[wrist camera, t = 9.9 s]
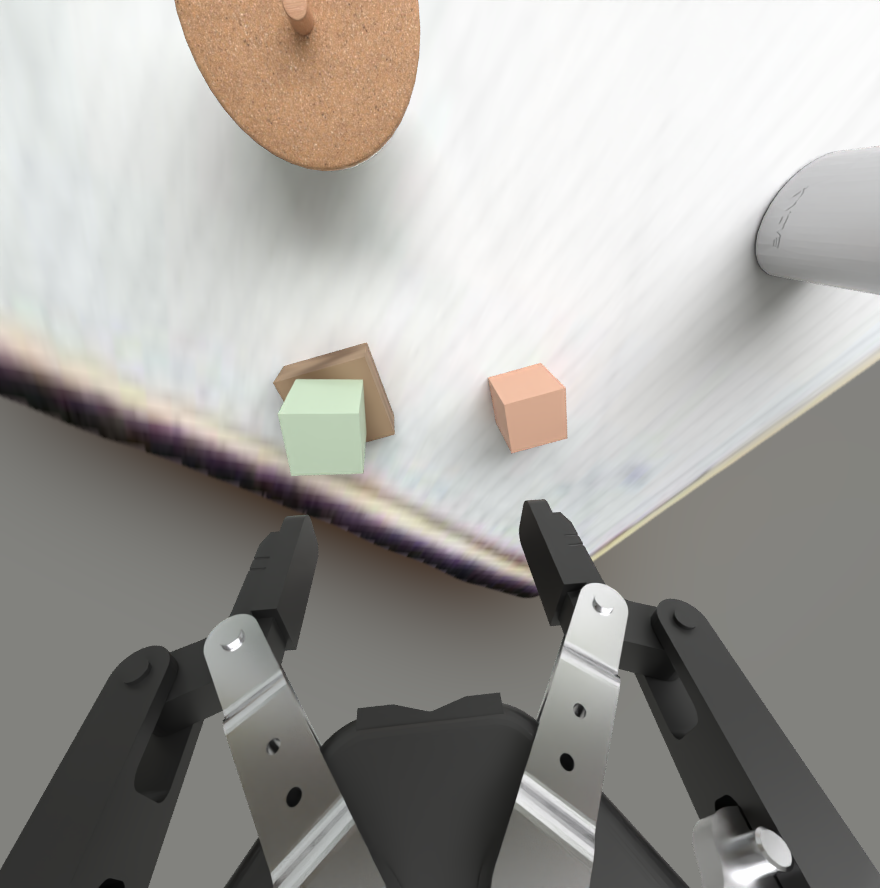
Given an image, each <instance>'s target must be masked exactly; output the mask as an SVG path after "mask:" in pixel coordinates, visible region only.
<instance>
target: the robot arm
mask: <svg viewBox="0 0 880 888" xmlns="http://www.w3.org/2000/svg"><path fill="white" fill-rule="evenodd" d="M756 256H757V260H758V263H759V265H760V267H761V268H762V270H764V271H765V272H766V273H768V274H770V275H773V276H776V277H782V278H788V279H793V280H799V281H805V282H810V283H815V284H820V285H826V286H832V287H837V288H843V289H849V290H855V291H860V292H866V293H872V294H877V295H880V146H874V147H866V148H858V149H850V150H842V151H837V152H832V153H828V154H826V155H824V156H822V157H819V158H817V159H815V160H814V161H812V162H811V163H809V164H808V165H806V166H805V167H803V168H802V169H801V170H800V171H799V172H798V173H797V174H795V175H794V176H793V177H792V178H791V179H790V180H789V181H788V182H787V183H786V185H785V186H784V187H783V188H782V189H781V190H780V192H779V193H778V194H777V196H776V197H775V199H774V200H773V202H772V203H771V204H770V206H769V208H768V210H767V212H766V214H765V216H764V218H763V220H762V223H761V226H760V228H759V231H758V236H757V241H756ZM519 537H520V542H521V546H522V548H523V551H524V554H525V557H526V560H527V562H528V565H529V568H530V571H531V573H532V576H533V579H534V582H535V585H536V587H537V590H538V593H539V596H540V598H541V601H542V604H543V607H544V610H545V613H546V615H547V618H548V621H549V624H550V626H556V625H561V627H562V630H563V633H564V637H563V639H562V642H561V645H560V649H559V652H558V655H557V658H556V661H555V664H554V667H553V670H552V673H551V677H550V679H549V683H548V686H547V689H546V692H545V694H544V697H543V700H542V703H541V706H540V709H539V712H538V715H537V718H536V720H535V719H534V718H533V717H531V716H530V715H528V714H527V713H525V712H524V711H522V710H520V709H518V708H516V707H513V706H511V705H508V704H504V703H502V702H501V697H500V693H493V694H483V695H474V696H466V697H463V698H461V699H459V700H457V701H454V702H452V703H450V704H447V705H445V706H443V707H441V708H438V709H436V710H434V711H430V712H429V711H423V710H418V709H413V708H408V707H403V706H398V705H384V706H375V707H366V708H358V710H357V720H355V721H352V722H350V723H349V724H347V725H345V726H344V727H342V728H341V729H339V730H338V731H337V732H335V733H334V734H333V735H332V736H331V737H330V738H329V739H328V740H327V741H326V742H325V743H324V744H323V745H321V743H320V741H319V739H318V737H317V735H316V733H315V731H314V729H313V727H312V726H311V724H310V722H309V720H308V718H307V716H306V714H305V712H304V710H303V708H302V706H301V704H300V702H299V700H298V698H297V696H296V694H295V692H294V690H293V688H292V686H291V684H290V682H289V680H288V678H287V676H286V674H285V672H284V670H283V668H282V666H281V663H282V659H283V655H284V651H285V650H296V647H297V644H298V639H299V635H300V631H301V627H302V623H303V618H304V614H305V610H306V606H307V602H308V597H309V593H310V588H311V585H312V580H313V576H314V572H315V567H316V563H317V559H318V543H317V539H316V536H315V533H314V530H313V526H312V523H311V520H310V517H309V515H300V516H287V517H286V518H285V519H284V521H283V524H282V527H281V529H280V532H271V533H270V534H269V535H268V536H267V537H266V538H265V539H264V540H263V541H262V543H261V544H260V545H259V548H258V550H257V552H256V555H255V557H254V560H253V562H252V564H251V567H250V571H249V572H248V574H247V576H246V579H245V581H244V583H243V586H242V588H241V591H240V593H239V595H238V598H237V600H236V603H235V605H234V607H233V610H232V612H231V614H230V616H229V618H228V619H225V620H224V621H222V622H221V623H220V624H218V625H217V626H216V627H215V628H214V629H213V630H212V631H211V633H210V634H209V636H208V637H207V638H205V639H203V640H201V641H198V642H196V643H193V644H190V645H188V646H185V647H183V648H180V649H178V650H175V651H172V652H169V651H168V650H167V649H166V648H164V647H162V646H149V647H146V648H143V649H141V650H139V651H137V652H135V653H133V654H132V655H130V656H129V657H127V658H126V659H125V660H124V661H122V662H121V663H120V664H119V665H118V667H116V669H115V670H114V671H113V672H112V674H111V675H110V677H109V678H108V680H107V682H106V684H105V686H104V687H103V689H102V691H101V693H100V694H99V696H98V698H97V700H96V702H95V703H94V705H93V707H92V709H91V710H90V712H89V714H88V716H87V717H86V719H85V721H84V723H83V725H82V726H81V728H80V730H79V732H78V733H77V735H76V737H75V739H74V740H73V742H72V744H71V746H70V747H69V749H68V751H67V753H66V755H65V756H64V758H63V760H62V762H61V763H60V765H59V767H58V769H57V770H56V772H55V774H54V776H53V778H52V779H51V781H50V783H49V785H48V786H47V788H46V790H45V792H44V793H43V795H42V797H41V799H40V801H39V802H38V804H37V806H36V808H35V809H34V811H33V813H32V815H31V816H30V819H29V820H28V822H27V824H26V825H25V827H24V829H23V831H22V832H21V834H20V836H19V838H18V840H17V841H16V843H15V845H14V847H13V848H12V850H11V852H10V854H9V855H8V857H7V859H6V861H5V862H4V864H3V866H2V868H1V870H0V888H148V886H149V883H150V880H151V877H152V874H153V871H154V868H155V865H156V862H157V859H158V856H159V853H160V850H161V847H162V844H163V841H164V838H165V835H166V832H167V829H168V826H169V823H170V820H171V817H172V814H173V811H174V808H175V805H176V802H177V799H178V796H179V793H180V790H181V787H182V784H183V781H184V778H185V775H186V772H187V769H188V766H189V763H190V760H191V757H192V754H193V751H194V748H195V745H196V742H197V739H198V736H199V733H200V730H201V727H202V724H203V721H204V719H205V718H208V717H210V716H212V715H214V714H216V713H218V712H221V711H223V712H224V716H225V719H224V720H223V728H224V732H225V735H226V738H227V741H228V744H229V748H230V751H231V754H232V757H233V760H234V763H235V766H236V769H237V772H238V775H239V778H240V781H241V784H242V787H243V790H244V793H245V797H246V800H247V803H248V805H249V809H250V812H251V815H252V818H253V821H254V824H255V827H256V830H257V833H258V836H259V837H258V839H257V840H256V842H255V843H254V845H253V846H252V848H251V849H250V850H249V852H248V854H247V855H246V856H245V858H244V859H243V861H242V862H241V864H240V865H239V866H238V868H237V869H236V871H235V872H234V874H233V875H232V877H231V878H230V880H229V881H228V883H227V884H226V886H225V887H224V888H689V886H688V885H687V884H686V883H685V882H684V881H683V880H682V878H681V877H680V876H679V875H678V874H677V873H676V872H675V871H674V870H673V869H672V868H671V867H670V865H669V864H668V863H667V862H666V861H665V860H664V859H663V858H662V857H661V856H660V854H659V853H658V852H657V851H656V850H655V849H654V848H653V847H652V846H651V845H650V843H649V842H648V841H647V840H646V839H645V838H644V837H643V836H642V835H641V834H640V832H639V831H637V829H636V828H635V827H634V826H633V825H632V824H631V823H630V821H629V820H628V819H627V818H626V817H625V816H624V815H623V814H622V813H621V812H620V811H619V810H618V808H617V807H616V806H615V805H614V804H613V803H612V802H611V801H610V800H609V799H608V798H607V797H606V795H605V794H604V793H603V792H602V787H603V781H604V775H605V770H606V764H607V758H608V752H609V746H610V741H611V735H612V728H613V723H614V717H615V712H616V706H617V700H618V694H619V688H620V677H619V676H618V669H622V670H626V671H630V672H633V673H635V675H636V677H637V680H638V682H639V684H640V686H641V689H642V691H643V693H644V695H645V698H646V700H647V702H648V704H649V707H650V709H651V711H652V713H653V716H654V718H655V720H656V722H657V724H658V727H659V729H660V731H661V733H662V736H663V738H664V740H665V742H666V745H667V747H668V749H669V751H670V754H671V756H672V758H673V760H674V762H675V765H676V767H677V769H678V771H679V773H680V776H681V778H682V780H683V783H684V785H685V787H686V789H687V792H688V793H689V796H690V798H691V800H692V803H693V805H694V807H695V810H696V812H697V814H698V816H699V818H700V820H699V821H698V822H697V823H696V825H695V827H694V830H693V837H692V842H693V849H694V854H695V857H696V860H697V863H698V866H699V870H700V874H701V881H702V888H880V874H879V872H878V871H877V869H876V868H875V867H874V865H873V864H872V862H871V861H870V859H869V858H868V856H867V855H866V853H865V852H864V850H863V849H862V847H861V846H860V844H859V843H858V841H857V840H856V838H855V837H854V836H853V834H852V833H851V831H850V830H849V828H848V827H847V825H846V824H845V822H844V821H843V819H842V818H841V816H840V815H839V814H838V812H837V811H836V809H835V808H834V806H833V805H832V803H831V802H830V800H829V799H828V797H827V796H826V795H825V793H824V791H823V790H822V789H821V787H820V786H819V784H818V783H817V781H816V780H815V778H814V777H813V775H812V774H811V773H810V771H809V769H808V768H807V766H806V765H805V763H804V762H803V761H802V759H801V758H800V756H799V755H798V753H797V752H796V750H795V749H794V747H793V746H792V744H791V743H790V742H789V740H788V739H787V737H786V736H785V734H784V733H783V731H782V730H781V728H780V727H779V725H778V724H777V723H776V721H775V719H774V718H773V717H772V715H771V714H770V712H769V711H768V709H767V708H766V706H765V705H764V703H763V702H762V700H761V699H760V697H759V696H758V694H757V693H756V692H755V690H754V689H753V687H752V686H751V684H750V683H749V681H748V680H747V679H746V677H745V675H744V674H743V672H742V671H741V669H740V668H739V666H738V665H737V663H736V662H735V661H734V659H733V658H732V656H731V655H730V653H729V652H728V650H727V649H726V647H725V646H724V644H723V643H722V641H721V640H720V639H719V637H718V636H717V634H716V633H715V631H714V630H713V628H712V627H711V625H710V624H709V622H708V621H707V619H706V618H705V617H704V616H703V615H702V614H701V613H700V612H699V611H698V610H697V609H696V608H694V607H693V606H691V605H689V604H688V603H686V602H683V601H680V600H676V599H666V600H663V601H662V602H660V603H659V605H658V606H657V607H654V606H649V605H644V604H640V603H635V602H631V601H628V600H625V599H623V597H622V596H621V595H620V594H619V593H618V592H617V591H615V590H614V589H613V588H611V587H609V586H607V585H606V584H605V583H604V581H603V580H602V578H601V576H600V574H599V572H598V571H597V569H596V567H595V565H594V563H593V561H592V559H591V558H590V556H589V554H588V552H587V550H586V548H585V547H584V546H583V543H582V541H581V539H580V537H579V536H578V535H577V532H576V530H575V528H574V526H573V524H572V523H571V521H569V520H568V519H567V518H566V517H565V516H564V515H563V514H562V513H561V512H556V513H553V512H552V510H551V508H550V506H549V504H548V503H547V501H546V500H545V499H542V500H528V501H525V502H524V504H523V510H522V516H521V521H520V527H519Z"/></svg>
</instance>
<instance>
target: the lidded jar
mask: <svg viewBox="0 0 880 888" xmlns="http://www.w3.org/2000/svg"><path fill="white" fill-rule="evenodd" d="M175 5H176V10H177V14H178V17H179V20H180V23H181V26H182V29H183V32H184V35H185V39H186V41H187V43H188V46H189V48H190V50H191V53H192V55H193V57H194V60H195V62H196V64H197V66H198V68H199V70H200V72H201V74H202V75H203V77H204V79H205V81H206V83H207V84H208V86H209V88H210V90H211V91H212V93H213V94H214V95H215V97H216V98H217V100H218V101H219V103H220V104H221V105H222V107H223V108H224V110H225V111H226V112H227V113H228V114H229V115H230V117H231V118H232V119H233V120H234V121H235V122H236V124H237V125H238V126H239V127H240V128H241V129H242V130H243V131H244V132H245V133H246V134H248V135H249V136H250V137H251V138H252V139H253V140H254V141H255V142H256V143H258V144H259V145H261V146H262V147H264V148H265V149H266V150H268V151H269V152H271V153H272V154H274V155H275V156H277V157H279V158H281V159H283V160H285V161H287V162H289V163H291V164H294V165H298V166H301V167H304V168H307V169H313V170H320V171H336V170H345V169H349V168H352V167H356V166H358V165H360V164H362V163H364V162H366V161H368V160H369V159H370V158H372V157H373V156H374V155H376V154H377V153H378V152H379V151H380V150H381V149H382V148H383V147H384V146H385V145H386V143H387V142H388V141H389V140H390V138H391V137H392V135H393V134H394V132H395V130H396V129H397V127H398V126H399V124H400V122H401V121H402V118H403V116H404V114H405V111H406V109H407V107H408V104H409V101H410V98H411V94H412V91H413V87H414V84H415V79H416V73H417V66H418V60H419V46H420V20H419V4H418V0H175Z"/></svg>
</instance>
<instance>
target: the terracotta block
mask: <svg viewBox="0 0 880 888" xmlns="http://www.w3.org/2000/svg"><path fill="white" fill-rule="evenodd" d="M488 380H489V386H490V392H491V397H492V403H493V409H494V414H495V420H496V424H497V425H498V427H499V429H500V431H501V433H502V435H503V437H504V439H505V441H506V443H507V445H508V447H509V449H510V451H511V453H515V452H519V451H522V450H526V449H530V448H533V447H537V446H541V445H544V444H548V443H552V442H555V441H559V440H563V439H567V415H566V388H565V387H564V386H563V385H562V384H561V383H560V382H559V381H558V380H557V379H556V378H555V377H554V376H553V375H552V374H551V373H550V372H549V371H548V370H547V369H546V368H545V367H544V366H543V365H542V364H541V363H539V364H535V365H532V366H528V367H524V368H521V369H517V370H514V371H510V372H507V373H503V374H499V375H496V376H492V377H489V378H488Z"/></svg>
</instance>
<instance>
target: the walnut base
mask: <svg viewBox="0 0 880 888" xmlns="http://www.w3.org/2000/svg"><path fill="white" fill-rule="evenodd" d="M296 379H353V380H363V387H364V403H365V418H366V442H369V441H372V440H376V439H380V438H383V437H387V436H391V435H394V434H395V430H394V414H393V411H392V409H391V406H390V403H389V401H388V398H387V395H386V393H385V390H384V387H383V385H382V382H381V379H380V377H379V374H378V371H377V369H376V366H375V363H374V360H373V358H372V355H371V352H370V350H369V347H368V344H367V343H363V344H360V345H356V346H353V347H349V348H346V349H343V350H339V351H336V352H332V353H329V354H325V355H322V356H318V357H315V358H311V359H308V360H304V361H301V362H297V363H294V364H290V365H287V366H284V367H283V368H282V370H281V371H280V373H279V374H278V376H277V378H276V379H275V381H274V382H273V384H274V385H275V387H276V389H277V391H278V392H279V394H280V396H281V398H282V399H283V401H285V399H286V397H287V395H288V393H289V391H290V390H291V388H292V386H293V384H294V382H295V380H296Z"/></svg>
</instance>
